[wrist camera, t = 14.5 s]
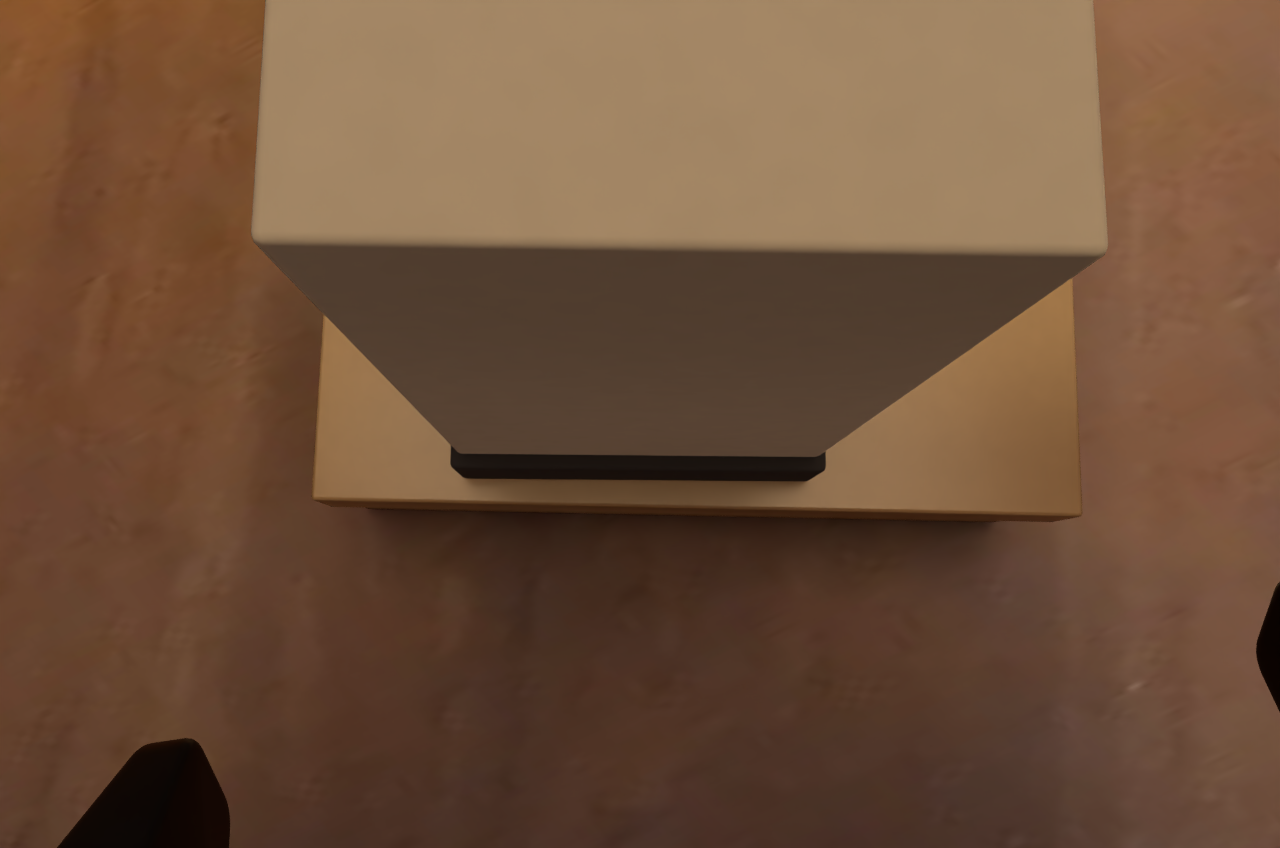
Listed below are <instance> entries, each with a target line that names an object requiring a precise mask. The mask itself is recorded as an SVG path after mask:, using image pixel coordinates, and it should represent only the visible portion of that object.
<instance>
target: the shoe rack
mask: <svg viewBox="0 0 1280 848" xmlns="http://www.w3.org/2000/svg"><path fill="white" fill-rule="evenodd" d="M450 456H451V445H450V444H449V443H448V442H447V440H446V439H445V438H444V437H443V436H442V435H441V434H440V433H439V432H438V431H437V430H436V429H435V428H434V427H433V426H432V425H431V424H430V423H429V422H428V421H427V420H426V419H425V418H424V417H423V416H422V415H421V414H420V413H419V412H418V411H417V410H416V409H415V408H414V407H413V405H412V404H411V403H410V402H409V401H408V400H407V399H406V398H405V397H404V396H403V395H402V394H401V393H400V392H399V391H398V390H397V389H396V388H395V387H394V386H393V385H392V384H391V383H390V382H389V381H388V380H387V379H386V378H385V377H384V376H383V375H382V374H381V373H380V371H379V370H378V369H377V368H376V367H375V366H374V365H373V364H372V363H371V362H370V361H369V360H368V359H367V358H366V357H365V356H364V355H363V354H362V353H361V352H360V351H359V350H358V349H357V348H356V347H355V346H354V345H353V344H352V343H351V342H350V341H349V340H348V339H347V338H346V336H345V335H344V334H343V333H342V332H341V331H340V330H339V329H338V328H337V327H336V326H335V325H334V324H333V323H332V322H331V321H330V320H329V319H328V318H327V317H326V316H325V315H324V314H323V326H322V341H321V357H320V372H319V388H318V403H317V419H316V434H315V450H314V465H313V481H312V496H311V497H312V499H313V500H315V501H317V502H320V503H323V504H326V505H329V506H331V507H365V508H368V509H403V510H450V511H497V512H545V513H592V514H639V515H686V516H734V517H781V518H828V519H876V520H923V521H970V522H997V521H1031V522H1054V521H1060V520H1065V519H1070V518H1076V517H1080V516H1081V515H1082V494H1081V470H1080V447H1079V423H1078V400H1077V377H1076V353H1075V330H1074V306H1073V283H1072V278H1071V279H1070V280H1068V281H1067V282H1065V283H1064V284H1063V285H1061V286H1060V287H1058V288H1057V289H1055V290H1054V291H1053V292H1051V293H1050V294H1048V295H1047V296H1045V297H1044V298H1043V299H1041V300H1040V301H1038V302H1037V303H1036V304H1034V305H1033V306H1031V307H1030V308H1028V309H1027V310H1026V311H1024V312H1023V313H1021V314H1020V315H1018V316H1017V317H1016V318H1014V319H1013V320H1011V321H1010V322H1009V323H1007V324H1006V325H1004V326H1003V327H1001V328H1000V329H999V330H997V331H996V332H994V333H993V334H991V335H990V336H989V337H987V338H986V339H984V340H983V341H981V342H980V343H979V344H977V345H976V346H974V347H973V348H972V349H970V350H969V351H967V352H966V353H964V354H963V355H962V356H960V357H959V358H957V359H956V360H954V361H953V362H952V363H950V364H949V365H947V366H946V367H944V368H943V369H942V370H940V371H939V372H937V373H936V374H935V375H933V376H932V377H930V378H929V379H927V380H926V381H925V382H923V383H922V384H920V385H919V386H917V387H916V388H915V389H913V390H912V391H910V392H909V393H907V394H906V395H905V396H903V397H902V398H900V399H899V400H898V401H896V402H895V403H893V404H892V405H890V406H889V407H888V408H886V409H885V410H883V411H882V412H880V413H879V414H878V415H876V416H875V417H873V418H872V419H871V420H869V421H868V422H866V423H865V424H863V425H862V426H861V427H859V428H858V429H856V430H855V431H853V432H852V433H851V434H849V435H848V436H846V437H845V438H843V439H842V440H841V441H839V442H838V443H836V444H835V445H834V446H832V447H831V448H829V449H828V450H826V468H825V471H823V472H822V473H820V474H818V475H817V476H815V477H814V478H812V479H810V480H808V481H694V480H582V479H469V478H464V477H462V476H461V475H460V474H459V473H457V472H456V471H455V470H454V469H453V468H452V467H451V464H450Z"/></svg>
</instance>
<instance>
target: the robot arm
mask: <svg viewBox="0 0 1280 848" xmlns="http://www.w3.org/2000/svg"><path fill="white" fill-rule="evenodd" d="M1256 654H1257V661H1258V665H1259V668H1260V671H1261V673H1262V676H1263V678H1264V680H1265V682H1266V684H1267V686H1268V688H1269V690H1270V692H1271V695H1272V697H1273V699H1274V701H1275V703H1276V705H1277V707H1278V709H1279V711H1280V582H1279V583H1278V584H1277V586H1276V588H1275V590H1274V593H1273V596H1272V599H1271V602H1270V605H1269V608H1268V611H1267V613H1266V616H1265V619H1264V622H1263V625H1262V628H1261V631H1260V634H1259V637H1258V640H1257V647H1256ZM229 837H230V815H229V808H228V804H227V800H226V798H225V795H224V793H223V791H222V789H221V787H220V785H219V782H218V780H217V778H216V776H215V774H214V772H213V770H212V768H211V766H210V764H209V762H208V759H207V757H206V755H205V753H204V751H203V749H202V748H201V746H200V745H199V743H198V742H196V741H195V740H193V739H188V738H184V739H177V740H170V741H163V742H156V743H151V744H147V745H145V746H143V747H141V748H140V749H138V750H137V751H136V752H135V753H134V754H133V755H132V756H131V757H130V759H129V760H128V761H127V762H126V764H125V765H124V766H123V767H122V769H121V770H120V771H119V772H118V773H117V775H116V776H115V777H114V778H113V780H112V781H111V782H110V783H109V784H108V786H107V787H106V788H105V789H104V791H103V792H102V793H101V794H100V796H99V797H98V798H97V799H96V800H95V802H94V803H93V804H92V805H91V807H90V808H89V809H88V810H87V811H86V813H85V814H84V815H83V816H82V818H81V819H80V820H79V821H78V823H77V824H76V825H75V826H74V827H73V829H72V830H71V831H70V832H69V834H68V835H67V836H66V837H65V839H64V840H63V841H62V842H61V843H60V845H59V846H58V847H57V848H229Z"/></svg>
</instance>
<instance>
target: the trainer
mask: <svg viewBox="0 0 1280 848" xmlns="http://www.w3.org/2000/svg"><path fill="white" fill-rule="evenodd" d="M251 235H252V238H253V241H254V243H255V244H256V245H257V246H258V247H259V248H260V249H261V250H262V251H263V252H264V253H265V254H266V255H267V256H268V257H269V258H270V259H271V260H272V261H273V262H274V263H275V264H276V265H277V266H278V268H279V269H280V270H281V271H282V272H283V273H284V274H285V275H286V276H287V277H288V278H289V279H290V280H291V281H292V282H293V283H294V284H295V285H296V286H297V287H298V288H299V289H300V290H301V291H302V292H303V293H304V294H305V295H306V296H307V297H308V298H309V299H310V300H311V301H312V303H313V304H314V305H315V306H316V307H317V308H318V309H319V310H320V311H321V312H322V313H323V314H324V315H325V316H326V317H327V318H328V319H329V320H330V321H331V322H332V323H333V324H334V325H335V326H336V327H337V328H338V329H339V330H340V331H341V332H342V333H343V334H344V335H345V336H346V338H347V339H348V340H349V341H350V342H351V343H352V344H353V345H354V346H355V347H356V348H357V349H358V350H359V351H360V352H361V353H362V354H363V355H364V356H365V357H366V358H367V359H368V360H369V361H370V362H371V363H372V364H373V365H374V366H375V367H376V368H377V369H378V370H379V371H380V373H381V374H382V375H383V376H384V377H385V378H386V379H387V380H388V381H389V382H390V383H391V384H392V385H393V386H394V387H395V388H396V389H397V390H398V391H399V392H400V393H401V394H402V395H403V396H404V397H405V398H406V399H407V400H408V401H409V402H410V403H411V404H412V405H413V407H414V408H415V409H416V410H417V411H418V412H419V413H420V414H421V415H422V416H423V417H424V418H425V419H426V420H427V421H428V422H429V423H430V424H431V425H432V426H433V427H434V428H435V429H436V430H437V431H438V432H439V433H440V434H441V435H442V436H443V437H444V438H445V439H446V440H447V442H448V443H449V444H450V445H451V456H450V464H451V467H452V468H453V469H454V470H455V471H456V472H457V473H459V474H460V475H461V476H462V477H464V478H469V479H582V480H694V481H808V480H810V479H812V478H814V477H815V476H817V475H818V474H820V473H822V472H823V471H825V468H826V450H828V449H829V448H831V447H832V446H834V445H835V444H836V443H838V442H839V441H841V440H842V439H843V438H845V437H846V436H848V435H849V434H851V433H852V432H853V431H855V430H856V429H858V428H859V427H861V426H862V425H863V424H865V423H866V422H868V421H869V420H871V419H872V418H873V417H875V416H876V415H878V414H879V413H880V412H882V411H883V410H885V409H886V408H888V407H889V406H890V405H892V404H893V403H895V402H896V401H898V400H899V399H900V398H902V397H903V396H905V395H906V394H907V393H909V392H910V391H912V390H913V389H915V388H916V387H917V386H919V385H920V384H922V383H923V382H925V381H926V380H927V379H929V378H930V377H932V376H933V375H935V374H936V373H937V372H939V371H940V370H942V369H943V368H944V367H946V366H947V365H949V364H950V363H952V362H953V361H954V360H956V359H957V358H959V357H960V356H962V355H963V354H964V353H966V352H967V351H969V350H970V349H972V348H973V347H974V346H976V345H977V344H979V343H980V342H981V341H983V340H984V339H986V338H987V337H989V336H990V335H991V334H993V333H994V332H996V331H997V330H999V329H1000V328H1001V327H1003V326H1004V325H1006V324H1007V323H1009V322H1010V321H1011V320H1013V319H1014V318H1016V317H1017V316H1018V315H1020V314H1021V313H1023V312H1024V311H1026V310H1027V309H1028V308H1030V307H1031V306H1033V305H1034V304H1036V303H1037V302H1038V301H1040V300H1041V299H1043V298H1044V297H1045V296H1047V295H1048V294H1050V293H1051V292H1053V291H1054V290H1055V289H1057V288H1058V287H1060V286H1061V285H1063V284H1064V283H1065V282H1067V281H1068V280H1070V279H1071V278H1073V277H1074V276H1075V275H1077V274H1078V273H1080V272H1081V271H1082V270H1084V269H1085V268H1087V267H1088V266H1090V265H1091V264H1092V263H1094V262H1095V261H1097V260H1098V259H1100V258H1101V257H1102V256H1104V255H1105V253H1106V250H1107V247H1108V236H1107V219H1106V203H1105V187H1104V170H1103V154H1102V138H1101V122H1100V105H1099V89H1098V73H1097V56H1096V40H1095V24H1094V8H1093V0H265V16H264V32H263V49H262V65H261V81H260V97H259V113H258V129H257V145H256V161H255V177H254V194H253V210H252V226H251Z"/></svg>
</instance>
